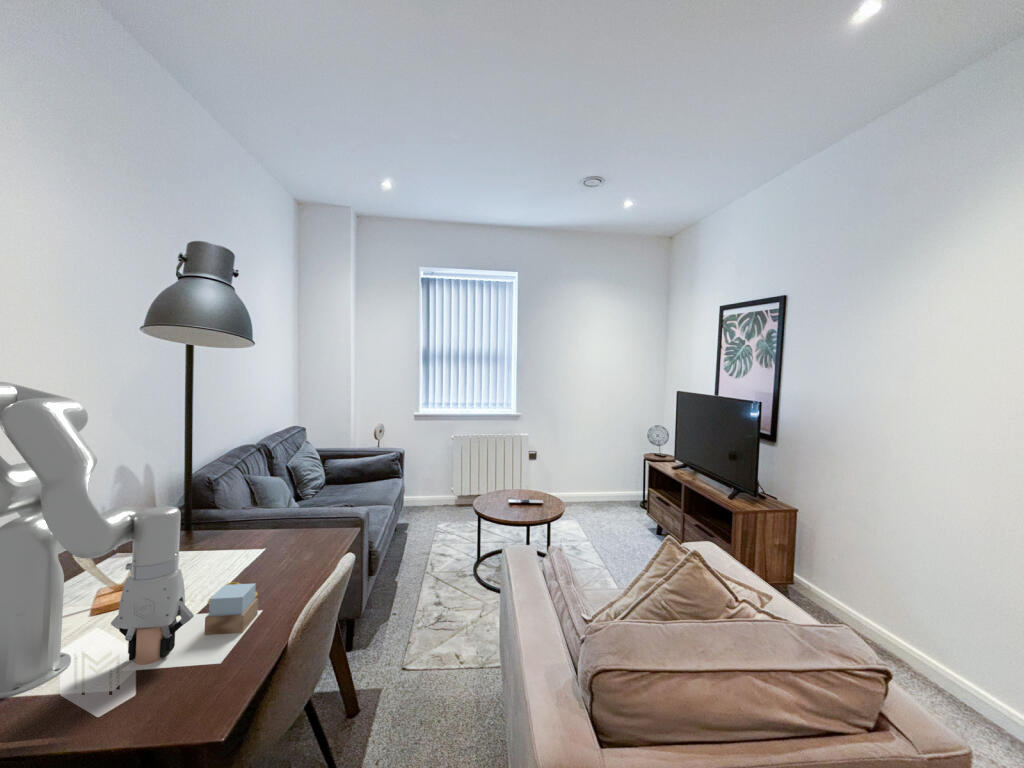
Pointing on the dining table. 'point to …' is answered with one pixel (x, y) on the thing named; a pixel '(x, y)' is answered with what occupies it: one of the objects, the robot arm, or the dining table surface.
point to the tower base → (231, 621)
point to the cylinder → (148, 645)
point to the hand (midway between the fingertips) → (151, 654)
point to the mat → (195, 646)
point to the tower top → (232, 599)
